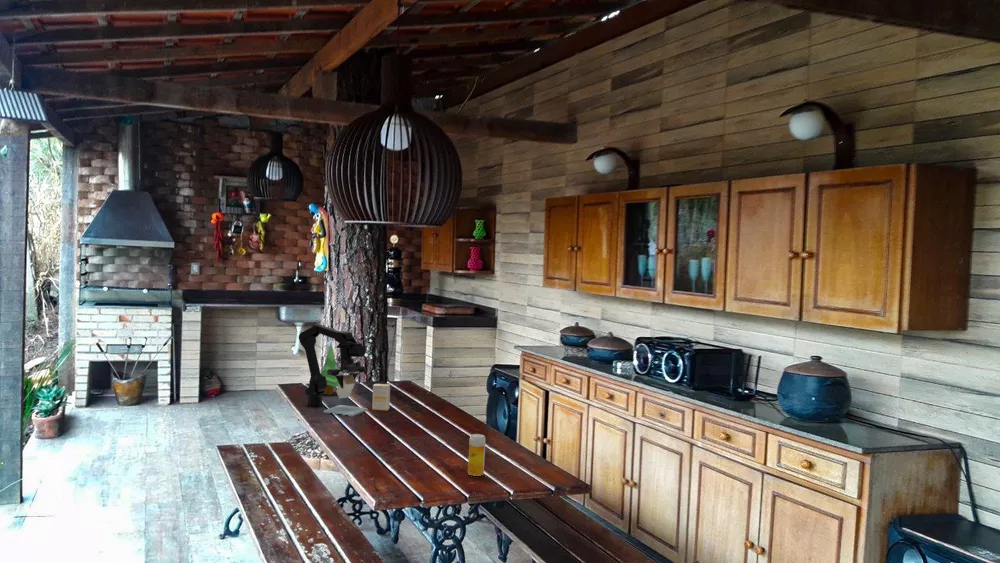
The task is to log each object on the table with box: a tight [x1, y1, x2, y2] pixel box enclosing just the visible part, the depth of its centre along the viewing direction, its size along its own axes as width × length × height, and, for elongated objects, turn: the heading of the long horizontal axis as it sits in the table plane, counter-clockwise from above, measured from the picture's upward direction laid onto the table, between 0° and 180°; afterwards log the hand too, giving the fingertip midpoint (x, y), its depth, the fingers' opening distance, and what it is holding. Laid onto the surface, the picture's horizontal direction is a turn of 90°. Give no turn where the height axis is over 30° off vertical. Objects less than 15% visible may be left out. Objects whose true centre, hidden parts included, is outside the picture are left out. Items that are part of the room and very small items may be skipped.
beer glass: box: [467, 433, 487, 477], centre depth 274 cm, size 6×6×15 cm
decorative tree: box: [320, 342, 339, 396], centre depth 406 cm, size 14×16×30 cm
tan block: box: [335, 374, 356, 399], centre depth 367 cm, size 5×5×12 cm
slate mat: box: [323, 404, 369, 417], centre depth 367 cm, size 16×16×1 cm
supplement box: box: [371, 383, 391, 412], centre depth 375 cm, size 8×5×13 cm, turn 84°
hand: (347, 387), depth 366 cm, fingers closed on tan block, 5 cm apart
